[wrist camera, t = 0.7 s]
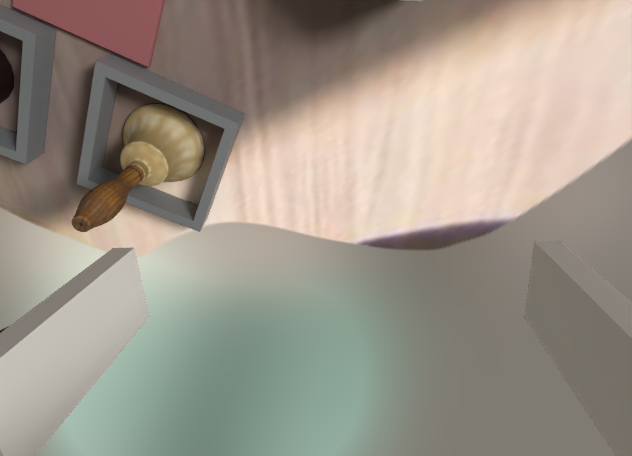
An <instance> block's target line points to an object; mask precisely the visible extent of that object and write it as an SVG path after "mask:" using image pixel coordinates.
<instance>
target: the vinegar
mask: <svg viewBox="0 0 632 456" xmlns="http://www.w3.org/2000/svg"><path fill="white" fill-rule="evenodd" d="M13 88H14V75H13V71H12V67H11V65H10V63H9V61H8V59H7V57H6V56H5V54H4V53H3V52H2V51H1V50H0V103H1V102H2V101H4V100H5V99H6V98H8V97H9V96H10V94H11V92H12V90H13Z"/></svg>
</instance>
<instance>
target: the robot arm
mask: <svg viewBox="0 0 632 456" xmlns="http://www.w3.org/2000/svg"><path fill="white" fill-rule="evenodd" d="M149 317H150V316H149V312H148V307H147V303H146V298H145V294H144V289H143V285H142V280H141V276H140V271H139V267H138V263H137V258H136V254H135V249H134V248H113V249H111V250H110V251H109V252H107V253H106V254H105V255H104V256H102V257H101V258H99V259H98V260H97V261H95V262H94V263H93V264H92V265H90V266H89V267H87V268H86V269H85V270H83V271H82V272H81V273H79V274H78V275H77V276H75V277H74V278H73V279H72V280H70V281H69V282H68V283H66V284H65V285H63V286H62V287H61V288H59V289H58V290H57V291H55V292H54V293H53V294H51V295H50V296H49V297H48V298H46V299H45V300H44V301H42V302H41V303H40V304H38V305H37V306H36V307H34V308H33V309H32V310H30V311H29V312H28V313H26V314H25V315H24V316H22V317H21V318H20V319H18V320H17V321H16V322H14V323H13V324H12V325H10V326H8V327H6V328H4V329H2V330H0V456H36V454H37V453H38V452H39V451H40V449H41V448H42V447H43V446H44V445H45V444H46V442H47V441H48V440H49V439H50V437H51V436H52V435H53V434H54V433H55V431H56V430H57V429H58V428H59V426H60V425H61V424H62V423H63V422H64V420H65V419H66V418H67V417H68V416H69V414H70V413H71V412H72V410H73V409H74V408H75V407H76V406H77V405H78V403H79V402H80V401H81V400H82V399H83V397H84V396H85V395H86V394H87V392H88V391H89V390H90V389H91V388H92V386H93V385H94V384H95V383H96V382H97V380H98V379H99V378H100V377H101V375H102V374H103V373H104V372H105V371H106V369H107V368H108V367H109V366H110V365H111V363H112V362H113V361H114V360H115V358H116V357H117V356H118V355H119V354H120V352H121V351H122V350H123V349H124V347H125V346H126V345H127V344H128V343H129V341H130V340H131V339H132V338H133V337H134V335H135V334H136V333H137V332H138V330H139V329H140V328H141V327H142V325H143V324H144V323H145V322H146V321H147V319H148V318H149ZM524 318H525V320H526V321H527V323H528V324H529V326H530V327H531V329H532V330H533V332H534V333H535V335H536V336H537V338H538V339H539V341H540V342H541V344H542V345H543V347H544V348H545V350H546V351H547V353H548V355H549V356H550V357H551V359H552V361H553V362H554V363H555V365H556V366H557V368H558V370H559V371H560V373H561V374H562V376H563V377H564V379H565V380H566V382H567V383H568V385H569V386H570V388H571V389H572V391H573V392H574V394H575V395H576V397H577V398H578V400H579V401H580V403H581V404H582V406H583V407H584V409H585V411H586V412H587V414H588V415H589V417H590V418H591V420H592V421H593V423H594V424H595V426H596V427H597V429H598V430H599V432H600V433H601V435H602V436H603V438H604V439H605V441H606V442H607V444H608V445H609V447H610V448H611V450H612V451H613V453H614V454H615V456H632V303H631V302H630V301H629V300H628V299H626V298H625V297H624V296H623V295H622V294H621V293H620V292H618V291H617V290H616V289H615V288H614V287H612V285H610V284H609V283H608V282H607V281H606V280H605V279H603V278H602V277H601V276H600V275H599V274H598V273H596V272H595V271H594V270H593V269H592V268H591V267H590V266H588V265H587V264H586V263H585V262H584V261H583V260H581V259H580V258H579V257H578V256H577V255H576V254H575V253H573V252H572V251H571V250H570V249H569V248H568V247H567V246H565V245H564V244H563V243H562V242H561V241H535V242H534V248H533V255H532V262H531V270H530V278H529V285H528V293H527V299H526V307H525V314H524Z"/></svg>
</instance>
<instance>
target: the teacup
mask: <svg viewBox="0 0 632 456" xmlns="http://www.w3.org/2000/svg"><path fill="white" fill-rule="evenodd" d="M400 1H407V2H418V1H425V0H400Z"/></svg>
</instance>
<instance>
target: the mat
mask: <svg viewBox="0 0 632 456" xmlns="http://www.w3.org/2000/svg"><path fill="white" fill-rule="evenodd" d="M164 1H165V0H13V7H15V8H17V9H19V10H22V11H24V12H26V13H28V14H31V15H33V16H35V17H37V18H39V19H42V20H44V21H46V22H48V23H51V24H53V25H55V26H57V27H60V28H62V29H64V30H66V31H68V32H71V33H73V34H75V35H77V36H80V37H82V38H84V39H86V40H89V41H91V42H93V43H95V44H98V45H100V46H102V47H104V48H106V49H109V50H111V51H113V52H115V53H118V54H120V55H122V56H124V57H127V58H129V59H131V60H133V61H136V62H138V63H140V64H142V65H144V66H147V67H149V66H150V64H151V60H152V55H153V51H154V46H155V42H156V37H157V33H158V28H159V24H160V19H161V15H162V10H163V6H164Z"/></svg>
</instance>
